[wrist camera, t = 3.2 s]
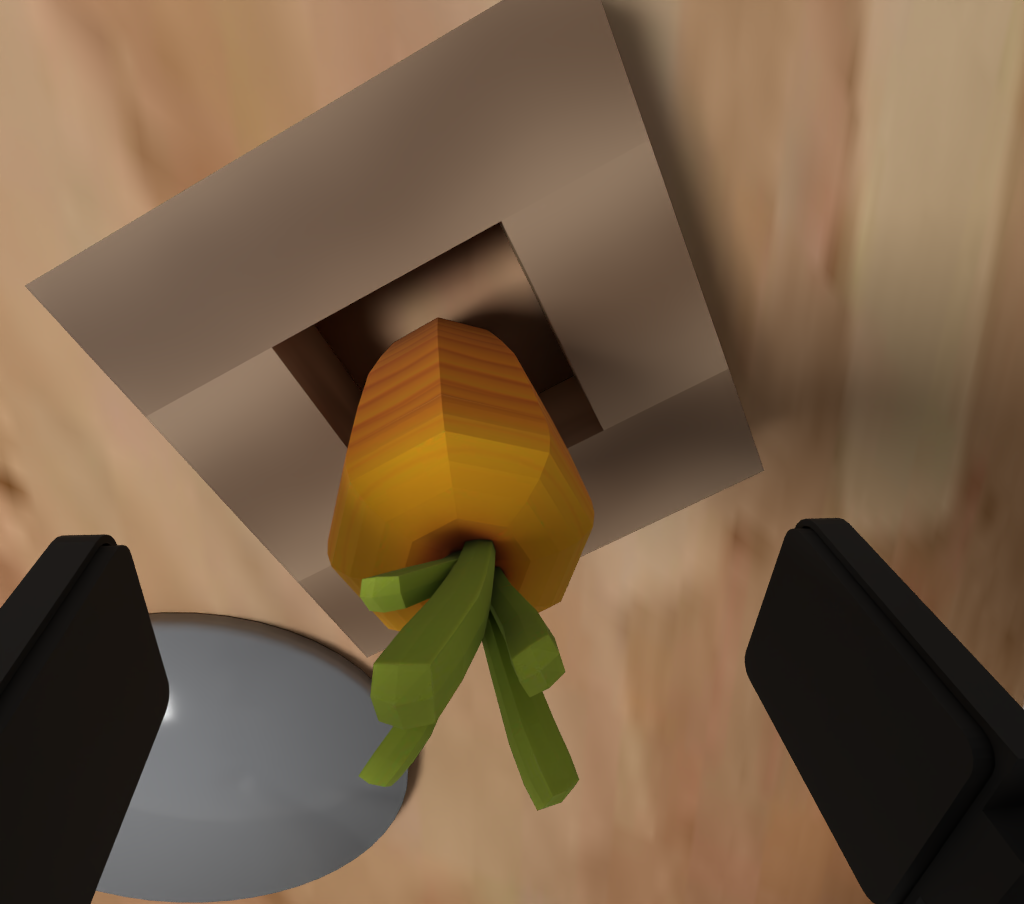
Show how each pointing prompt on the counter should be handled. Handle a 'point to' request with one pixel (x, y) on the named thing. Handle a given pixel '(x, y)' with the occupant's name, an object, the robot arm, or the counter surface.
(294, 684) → the plate
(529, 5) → the pocket block
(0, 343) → the counter surface
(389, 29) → the counter surface
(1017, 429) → the counter surface
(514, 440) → the carrot
